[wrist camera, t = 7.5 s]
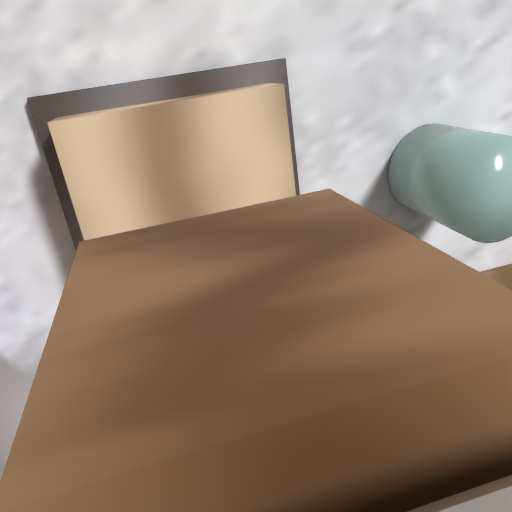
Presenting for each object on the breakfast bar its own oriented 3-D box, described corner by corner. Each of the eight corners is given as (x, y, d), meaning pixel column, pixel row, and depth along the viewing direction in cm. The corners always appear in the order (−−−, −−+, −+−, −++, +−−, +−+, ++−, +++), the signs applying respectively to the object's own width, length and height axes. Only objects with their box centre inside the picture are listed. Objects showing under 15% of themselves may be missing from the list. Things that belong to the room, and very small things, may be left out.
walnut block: (329, 189, 11) (587, 331, 5) (344, 383, 14) (530, 650, 7) (79, 241, 10) (-10, 512, 4) (143, 442, 12) (153, 815, 6)
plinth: (283, 58, 22) (303, 55, 20) (306, 275, 27) (324, 297, 24) (28, 97, 20) (12, 100, 18) (101, 324, 25) (97, 354, 22)
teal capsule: (468, 117, 26) (555, 129, 21) (461, 201, 28) (539, 232, 23) (388, 130, 25) (458, 146, 20) (387, 215, 27) (450, 251, 22)
